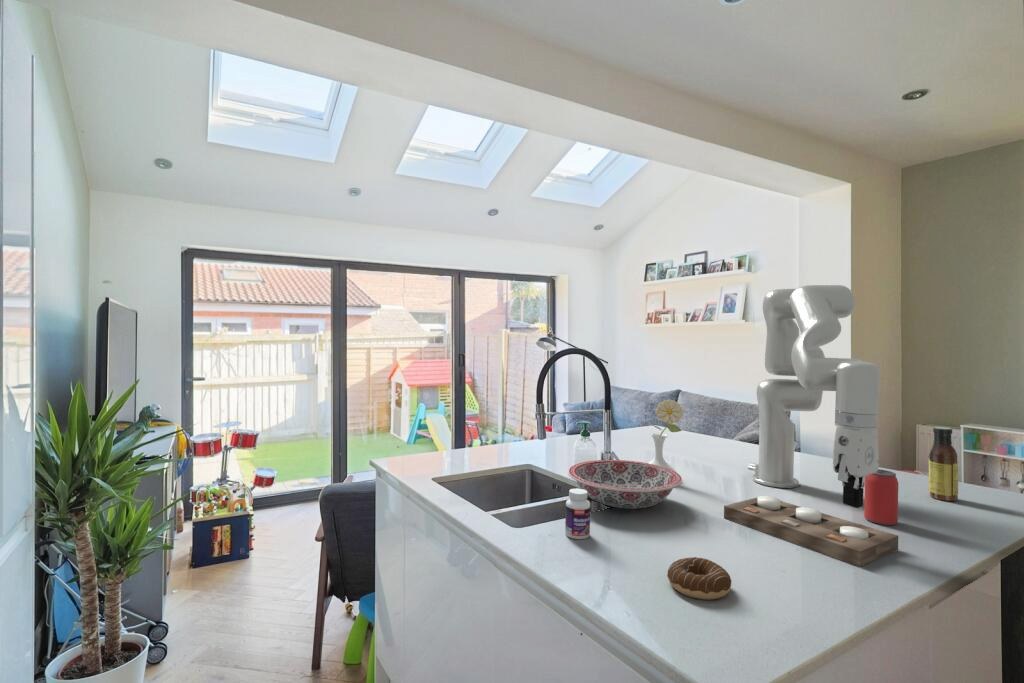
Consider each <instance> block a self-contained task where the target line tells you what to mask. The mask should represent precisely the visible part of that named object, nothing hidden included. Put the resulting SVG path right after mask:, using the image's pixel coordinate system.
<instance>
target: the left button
mask: <svg viewBox="0 0 1024 683" xmlns="http://www.w3.org/2000/svg"><path fill="white" fill-rule="evenodd" d="M757 497H758V498H757ZM757 497H756V498H757V506H758V507H759V508H763V509H766V510H769V511H778V510H780V501H781V499H779V498H777V497H774V496H771V495H769V496H768V495H760V496H759V495H758V496H757Z"/></svg>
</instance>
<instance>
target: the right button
mask: <svg viewBox="0 0 1024 683" xmlns="http://www.w3.org/2000/svg"><path fill="white" fill-rule="evenodd" d="M840 533H841V534H844V535H847V536H850V537H854V538H857V539H860V540H865V539H867V538H868V532H867V531H865V530H863V529H860V528H857V527H851V526H842V527H840Z"/></svg>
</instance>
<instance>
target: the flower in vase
mask: <svg viewBox="0 0 1024 683" xmlns="http://www.w3.org/2000/svg"><path fill="white" fill-rule="evenodd" d="M684 412H685V411H684V410H683V407H682V405H681V404H680V403H679V402H678V401H676V400H674V399H673V400H671V399H670V398H669V399H667V400H666V399H664V400H663V401H661V402H659V403H658V405H656V409H655V415H656V417H657V419H658V421H660V422H662V423H664V424H665V423H666V426H665V427H664V428H663V429H662V428H661V427H659V426H657V425H655V424H653V423H652V422H651V423H650V424H651V425H652V426H653V427H654V428H656V429H658V430H660V431H661V433H660V432H658V433H657V432H654V433H651V434H650V436H651V437H652V439H653V443H654V457H653V458H652V460H650V461H649V462H648V463H649V464H654V465H658V466H662V467H665V468H668V469H670V470H673V471H675V472H676V473H678V472H677V471H676V470H675V469H674V467H672V466H671V464H669V463H668V462H667V461H666V460H665V459H664V454H663V448H664V445H665V444H664V443H665V441H666V438H667V437H668V434H666V433H664V432H665V430H666V429H668V430H669V432H671V433H679V432H682V429H681V428H680V427H679V426H678V425H677V424H675V423H678V422H680V421H681V420H682V418H683V415H684Z"/></svg>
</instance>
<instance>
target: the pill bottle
mask: <svg viewBox="0 0 1024 683" xmlns="http://www.w3.org/2000/svg"><path fill="white" fill-rule="evenodd" d="M568 498H569V499H568ZM568 498H567V500H566V502H565V522H564V523H565V525H564V531H565V532H564V533H565V535H566V536H567V537H569V538H570V539H574V540H584V539H587V538H589V537H590V534H591V533H590V532H591V526H590V525H591V502H590V501H589V500H588V495H587V491H586V490H584V489H581V488H570V489H569V492H568Z"/></svg>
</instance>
